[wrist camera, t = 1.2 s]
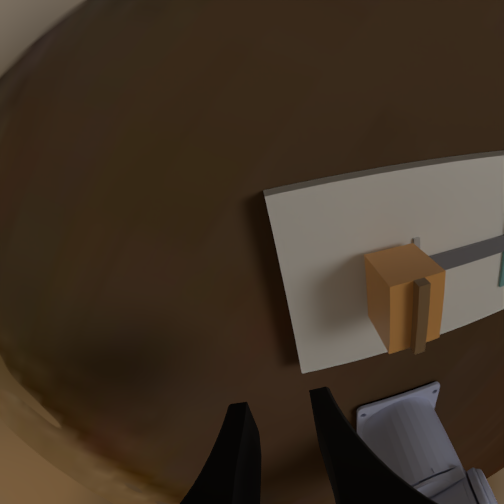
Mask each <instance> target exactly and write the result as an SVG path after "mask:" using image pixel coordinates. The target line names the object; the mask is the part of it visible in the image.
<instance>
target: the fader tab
mask: <svg viewBox="0 0 504 504" xmlns="http://www.w3.org/2000/svg"><path fill="white" fill-rule="evenodd" d="M364 260H365V272H366V286H367V304H368V317H369V318H370V320H371V322H372V324H373V325H374V327H375V329H376V331H377V333H378V334H379V336H380V338H381V340H382V342H383V344H384V345H385V347H386V349H387V351H388V353H389V354H391V353H394V352H398V351H401V350H404V349H407V348H411V350H412V351H413V353H414V355H415V354H418V353H421V352H424V351H425V345H426V342H428V341H431V340H434V339H436V338H439V336H440V328H441V320H442V311H443V301H444V290H445V275H446V271H445V270H444V269H443V268H442V267H441V266H439V265H438V264H437V263H436V262H435V261H434V260H433V259H431V258H430V257H429V256H428V255H427V254H426V253H424V252H423V251H422V250H421V249H420V248H418V247H417V246H416V245H415V244H414V243H411V244H407V245H403V246H398V247H394V248H390V249H386V250H382V251H378V252H374V253H369V254H365V255H364Z"/></svg>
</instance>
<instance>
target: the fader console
mask: <svg viewBox="0 0 504 504" xmlns="http://www.w3.org/2000/svg"><path fill="white" fill-rule="evenodd" d="M263 192H264V197H265V201H266V205H267V210H268V214H269V219H270V223H271V228H272V232H273V237H274V241H275V246H276V250H277V255H278V260H279V264H280V269H281V274H282V278H283V283H284V288H285V293H286V297H287V302H288V307H289V312H290V317H291V321H292V326H293V331H294V336H295V341H296V346H297V351H298V356H299V361H300V366H301V371H302V373H307V372H311V371H316V370H320V369H325V368H329V367H333V366H337V365H341V364H345V363H349V362H353V361H356V360H360V359H364V358H367V357H371V356H375V355H378V354H381V353H385V352H388V351H387V349H386V347H385V345H384V344H383V342H382V340H381V338H380V336H379V334H378V333H377V331H376V329H375V327H374V325H373V324H372V322H371V320H370V318H369V317H368V304H367V286H366V272H365V260H364V255H365V254H369V253H374V252H378V251H382V250H386V249H390V248H394V247H398V246H403V245H407V244H411V243H414V244H415V245H416V246H417V247H418V248H420V249H421V250H422V251H423V252H424V253H426V254H427V255H428V256H429V257H430V258H431V259H433V260H434V261H435V262H436V263H437V264H438V265H439V266H441V267H442V268H443V269H444V270H445V271H446V275H445V290H444V301H443V311H442V320H441V328H440V334H443V333H445V332H448V331H451V330H453V329H456V328H459V327H461V326H464V325H466V324H469V323H471V322H474V321H476V320H479V319H481V318H484V317H486V316H488V315H491V314H493V313H495V312H498V311H500V310H502V309H504V150H503V151H493V152H484V153H476V154H468V155H460V156H452V157H445V158H438V159H431V160H424V161H417V162H411V163H404V164H398V165H392V166H386V167H380V168H374V169H368V170H363V171H357V172H352V173H346V174H341V175H336V176H330V177H325V178H320V179H315V180H310V181H305V182H300V183H295V184H291V185H286V186H281V187H277V188H272V189H268V190H263Z"/></svg>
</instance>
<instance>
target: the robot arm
mask: <svg viewBox="0 0 504 504" xmlns="http://www.w3.org/2000/svg"><path fill="white" fill-rule="evenodd" d="M439 388H440V384H439V382H433V383H431V384H428V385H425V386H423V387H420V388H417V389H414V390H411V391H408V392H405V393H402V394H399V395H396V396H393V397H390V398H387V399H384V400H381V401H377V402H374V403H370V404H367V405H363V406H360V407H359V408H358V409H357V433H356V431H355V430H354V428H353V427H352V426H351V424H350V423H349V422H348V420H347V419H346V417H345V416H344V415H343V413H342V411H341V410H340V408H339V407H338V405H337V403H336V401H335V400H334V398H333V396H332V394H331V391H330V389H329V388H328V387H322V388H318V389H314V390H309V392H310V397H311V403H312V409H313V415H314V421H315V426H316V431H317V436H318V442H319V446H320V450H321V453H322V456H323V460H324V463H325V466H326V470H327V473H328V476H329V480H330V483H331V486H332V490H333V493H334V497H335V502H336V504H498V503H497V501H496V499H495V496H494V494H493V492H492V490H491V488H490V486H489V484H488V482H487V480H486V478H485V476H484V474H483V472H482V470H481V469H475V468H471V469H470V470H468V471H467V472H466V471H465V469H464V468H463V467H462V465H461V462H460V460H459V458H458V456H457V454H456V452H455V450H454V448H453V446H452V444H451V442H450V440H449V438H448V436H447V434H446V432H445V430H444V428H443V426H442V424H441V422H440V420H439V418H438V416H437V414H436V412H435V410H434V408H435V404H436V400H437V396H438V392H439ZM260 486H261V447H260V437H259V431H258V428H257V426H256V423H255V421H254V418H253V416H252V413H251V411H250V408H249V406H248V403H247V402H242V403H235V404H230V405H229V407H228V410H227V413H226V416H225V419H224V422H223V425H222V428H221V430H220V433H219V435H218V438H217V440H216V442H215V445H214V447H213V449H212V451H211V453H210V456H209V457H208V459H207V461H206V463H205V465H204V467H203V469H202V471H201V473H200V474H199V476H198V478H197V479H196V481H195V483H194V484H193V486H192V487H191V489H190V490H189V492H188V493H187V495H186V496H185V497H184V499H183V500H182V501H181V503H180V504H260Z"/></svg>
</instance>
